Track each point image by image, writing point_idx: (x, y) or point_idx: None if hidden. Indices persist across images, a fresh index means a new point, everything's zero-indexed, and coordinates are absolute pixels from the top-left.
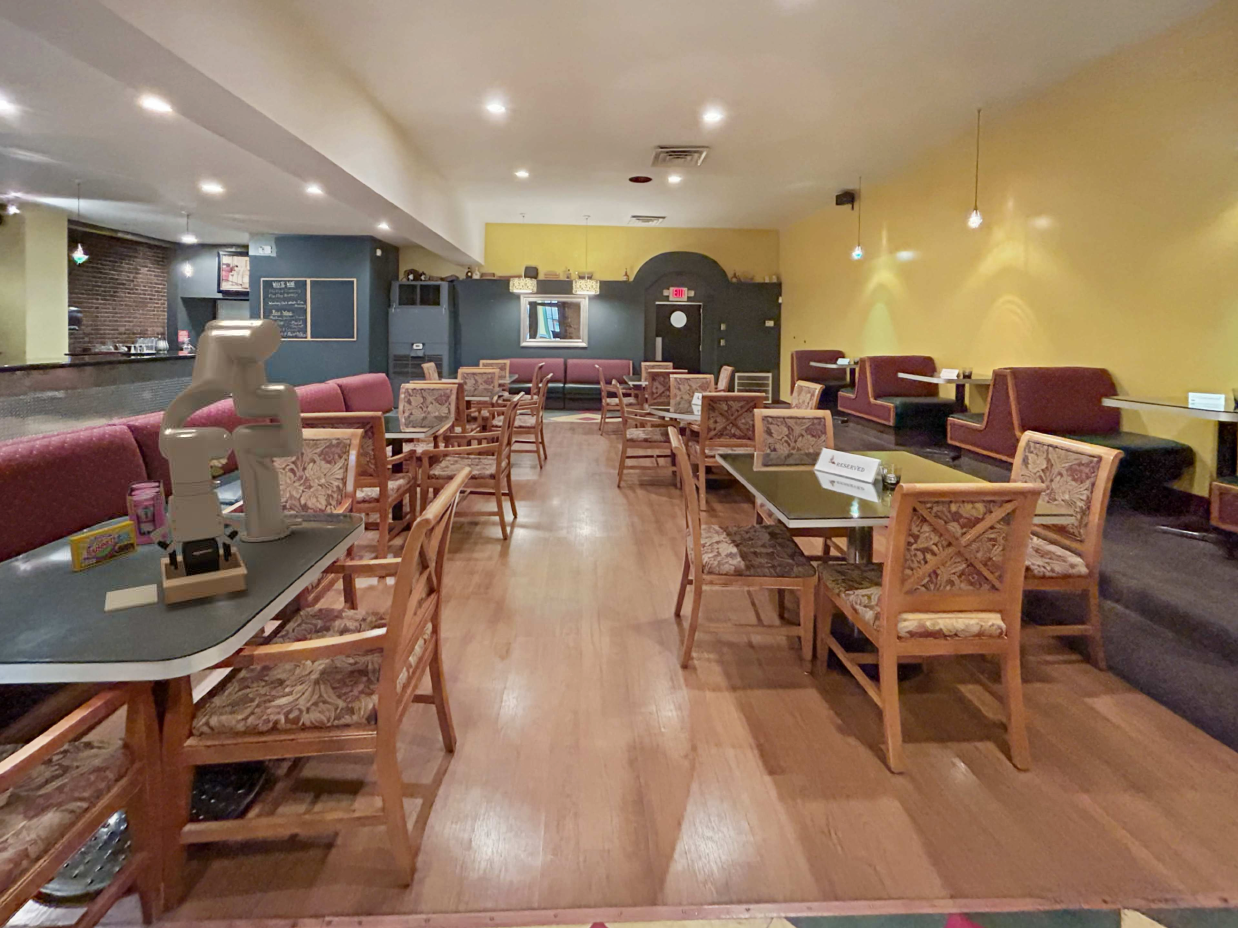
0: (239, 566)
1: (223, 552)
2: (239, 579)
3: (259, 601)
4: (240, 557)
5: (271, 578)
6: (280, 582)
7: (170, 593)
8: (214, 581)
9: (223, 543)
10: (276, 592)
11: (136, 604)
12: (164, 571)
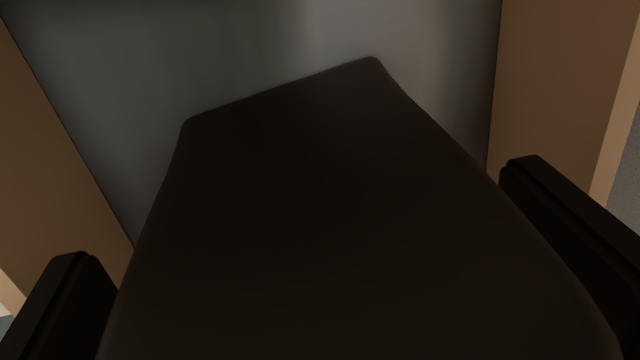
0: (551, 164)
1: (539, 224)
2: None
3: None
4: (631, 117)
5: (634, 130)
6: (634, 205)
7: None
8: None
9: (631, 337)
10: None
11: (6, 313)
12: (12, 289)
